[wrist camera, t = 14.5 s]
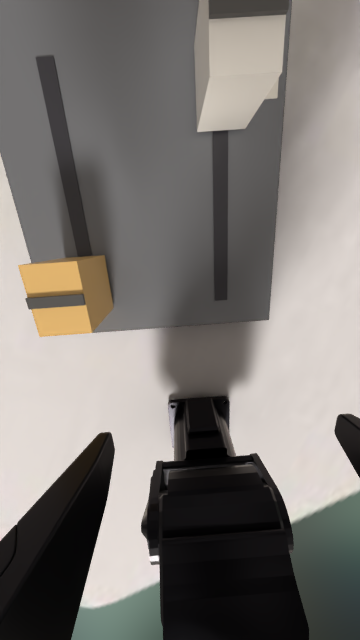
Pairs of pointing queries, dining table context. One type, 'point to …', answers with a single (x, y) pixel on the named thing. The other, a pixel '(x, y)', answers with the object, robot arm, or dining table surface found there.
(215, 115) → the fader
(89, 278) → the block
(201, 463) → the robot arm
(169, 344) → the dining table surface
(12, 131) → the console
